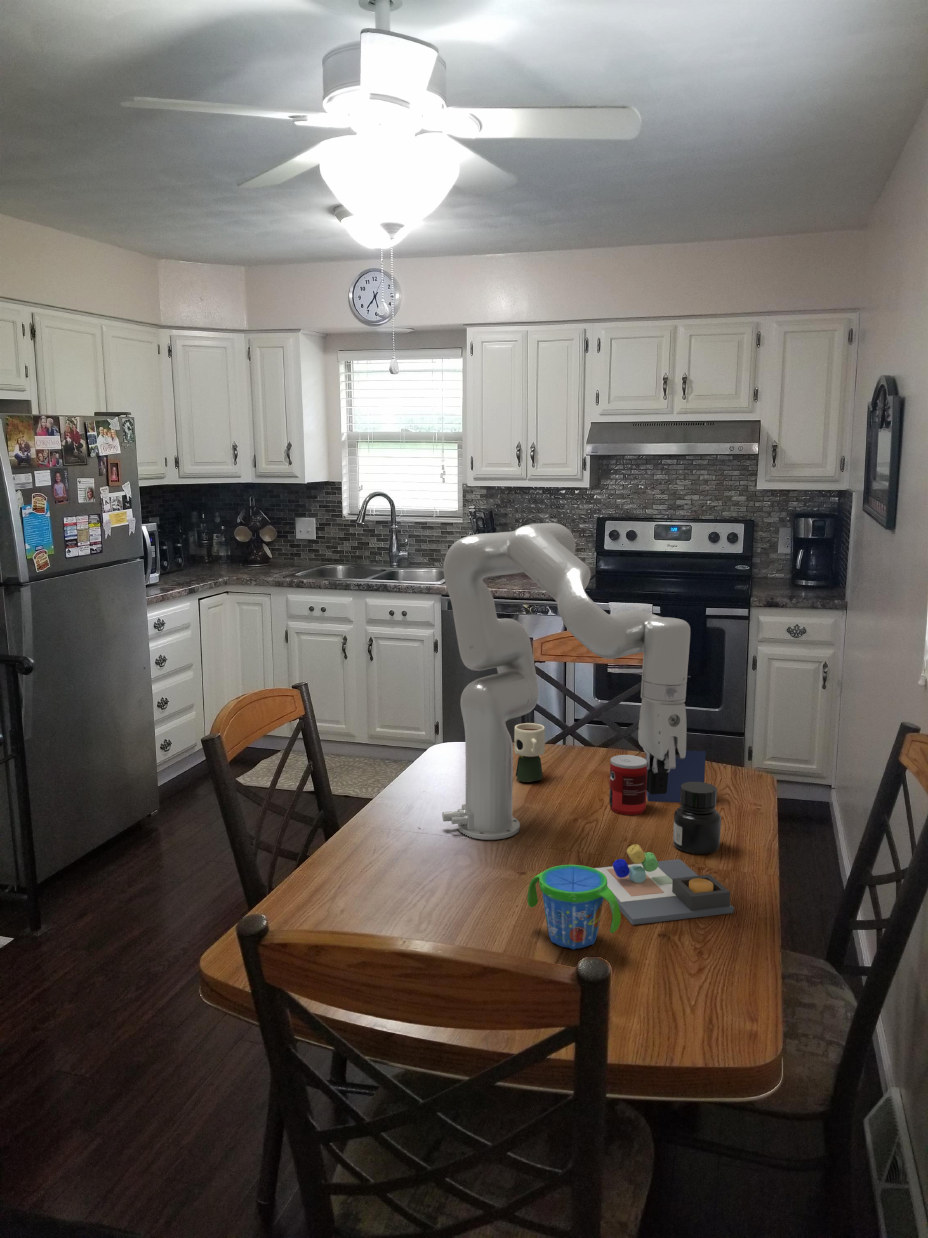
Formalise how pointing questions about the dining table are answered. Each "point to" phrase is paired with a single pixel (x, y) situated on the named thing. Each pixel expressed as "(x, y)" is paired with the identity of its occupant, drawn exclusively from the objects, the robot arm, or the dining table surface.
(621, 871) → the dice
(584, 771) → the dining table surface
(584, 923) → the snack cup
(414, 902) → the dining table surface
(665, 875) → the colouring board
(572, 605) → the robot arm
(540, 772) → the character mug
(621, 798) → the canned food
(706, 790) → the ink bottle
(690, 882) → the button
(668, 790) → the phone stand
